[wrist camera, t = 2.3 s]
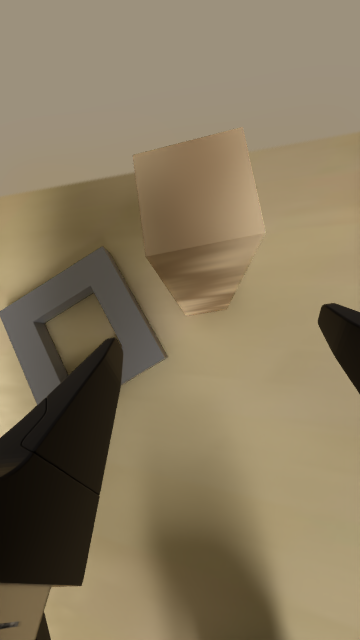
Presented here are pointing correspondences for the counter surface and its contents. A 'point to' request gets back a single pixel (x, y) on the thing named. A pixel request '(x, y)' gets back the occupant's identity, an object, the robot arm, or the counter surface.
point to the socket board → (60, 295)
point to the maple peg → (200, 217)
